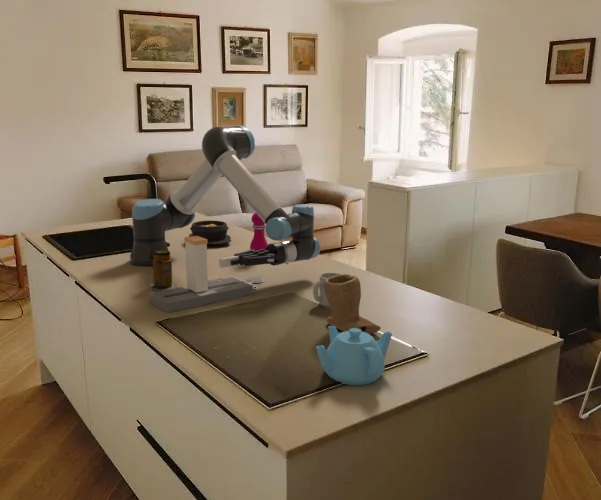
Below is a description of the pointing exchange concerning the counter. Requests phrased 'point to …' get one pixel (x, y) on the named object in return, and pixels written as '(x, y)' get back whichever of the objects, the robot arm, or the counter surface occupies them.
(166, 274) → the condiment
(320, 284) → the cup
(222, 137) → the robot arm
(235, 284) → the console
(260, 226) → the pepper mill
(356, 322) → the brown boot
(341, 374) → the teapot
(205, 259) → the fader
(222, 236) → the casserole
